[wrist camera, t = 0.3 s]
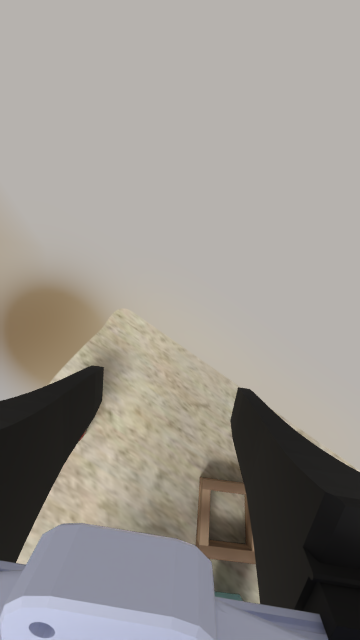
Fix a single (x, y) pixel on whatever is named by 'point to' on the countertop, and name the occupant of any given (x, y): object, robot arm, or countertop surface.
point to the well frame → (206, 546)
